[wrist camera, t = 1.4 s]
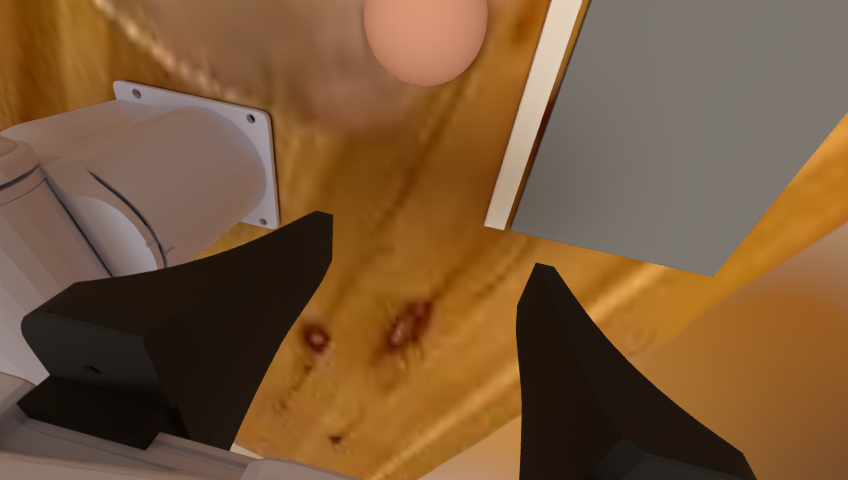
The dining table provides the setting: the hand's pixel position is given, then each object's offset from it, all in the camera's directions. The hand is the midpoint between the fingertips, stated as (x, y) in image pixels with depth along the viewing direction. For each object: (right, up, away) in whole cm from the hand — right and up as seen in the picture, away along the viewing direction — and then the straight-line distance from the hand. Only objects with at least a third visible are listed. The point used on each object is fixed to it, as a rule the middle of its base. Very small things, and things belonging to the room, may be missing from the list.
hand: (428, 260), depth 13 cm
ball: (0, +10, +2) cm, 10 cm away
